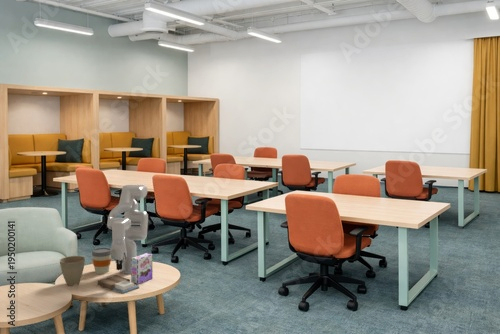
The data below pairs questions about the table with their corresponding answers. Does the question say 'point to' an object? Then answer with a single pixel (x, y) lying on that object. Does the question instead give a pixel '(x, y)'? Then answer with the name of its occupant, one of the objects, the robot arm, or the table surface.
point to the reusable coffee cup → (101, 260)
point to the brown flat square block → (111, 281)
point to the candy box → (141, 268)
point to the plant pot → (72, 269)
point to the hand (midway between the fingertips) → (119, 269)
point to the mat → (126, 290)
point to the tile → (124, 285)
